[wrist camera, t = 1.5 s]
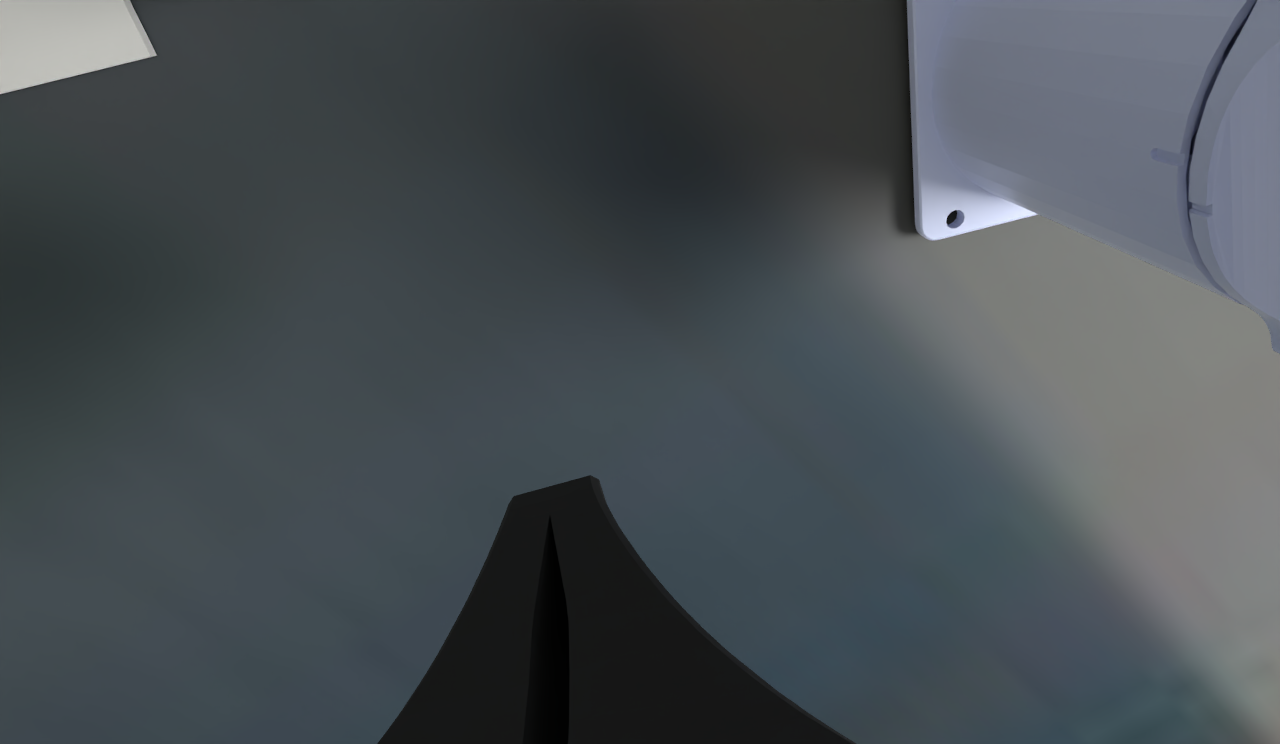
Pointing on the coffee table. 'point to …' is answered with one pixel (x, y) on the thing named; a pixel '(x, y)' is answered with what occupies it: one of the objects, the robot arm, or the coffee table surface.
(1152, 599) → the coffee table surface
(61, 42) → the felt pad
